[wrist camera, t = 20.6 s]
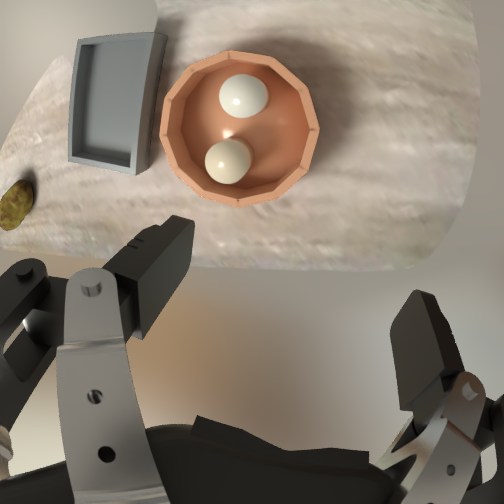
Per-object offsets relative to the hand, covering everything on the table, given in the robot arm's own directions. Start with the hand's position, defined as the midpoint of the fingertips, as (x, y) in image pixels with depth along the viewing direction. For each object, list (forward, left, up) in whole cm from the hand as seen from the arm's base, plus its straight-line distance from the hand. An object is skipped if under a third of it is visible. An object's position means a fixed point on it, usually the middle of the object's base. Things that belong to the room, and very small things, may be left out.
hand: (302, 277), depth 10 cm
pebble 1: (-4, -9, -27) cm, 29 cm away
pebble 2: (+4, -9, -27) cm, 29 cm away
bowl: (0, -9, -28) cm, 30 cm away
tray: (-1, -29, -28) cm, 40 cm away
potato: (+22, -56, -28) cm, 66 cm away
